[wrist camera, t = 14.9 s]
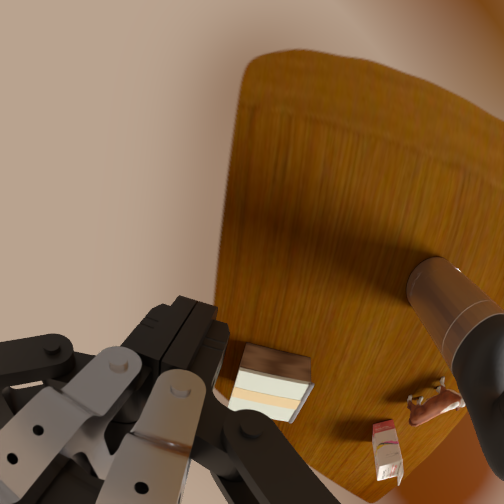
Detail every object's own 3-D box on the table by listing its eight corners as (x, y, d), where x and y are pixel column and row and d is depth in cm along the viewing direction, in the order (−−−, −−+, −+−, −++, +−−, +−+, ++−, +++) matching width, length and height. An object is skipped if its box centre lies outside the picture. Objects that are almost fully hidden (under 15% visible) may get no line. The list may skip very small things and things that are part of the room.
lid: (313, 382, 39) (314, 387, 39) (293, 419, 43) (293, 423, 42) (239, 367, 40) (238, 371, 39) (227, 406, 43) (227, 410, 42)
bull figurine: (459, 379, 43) (472, 405, 36) (404, 407, 47) (412, 435, 39) (458, 367, 42) (473, 393, 35) (400, 396, 46) (410, 426, 38)
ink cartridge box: (371, 423, 49) (380, 478, 36) (393, 418, 48) (405, 471, 35) (371, 442, 52) (378, 492, 38) (391, 437, 51) (400, 486, 37)
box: (310, 357, 45) (311, 382, 39) (292, 395, 49) (290, 419, 43) (246, 342, 46) (240, 365, 40) (234, 381, 49) (228, 404, 44)
